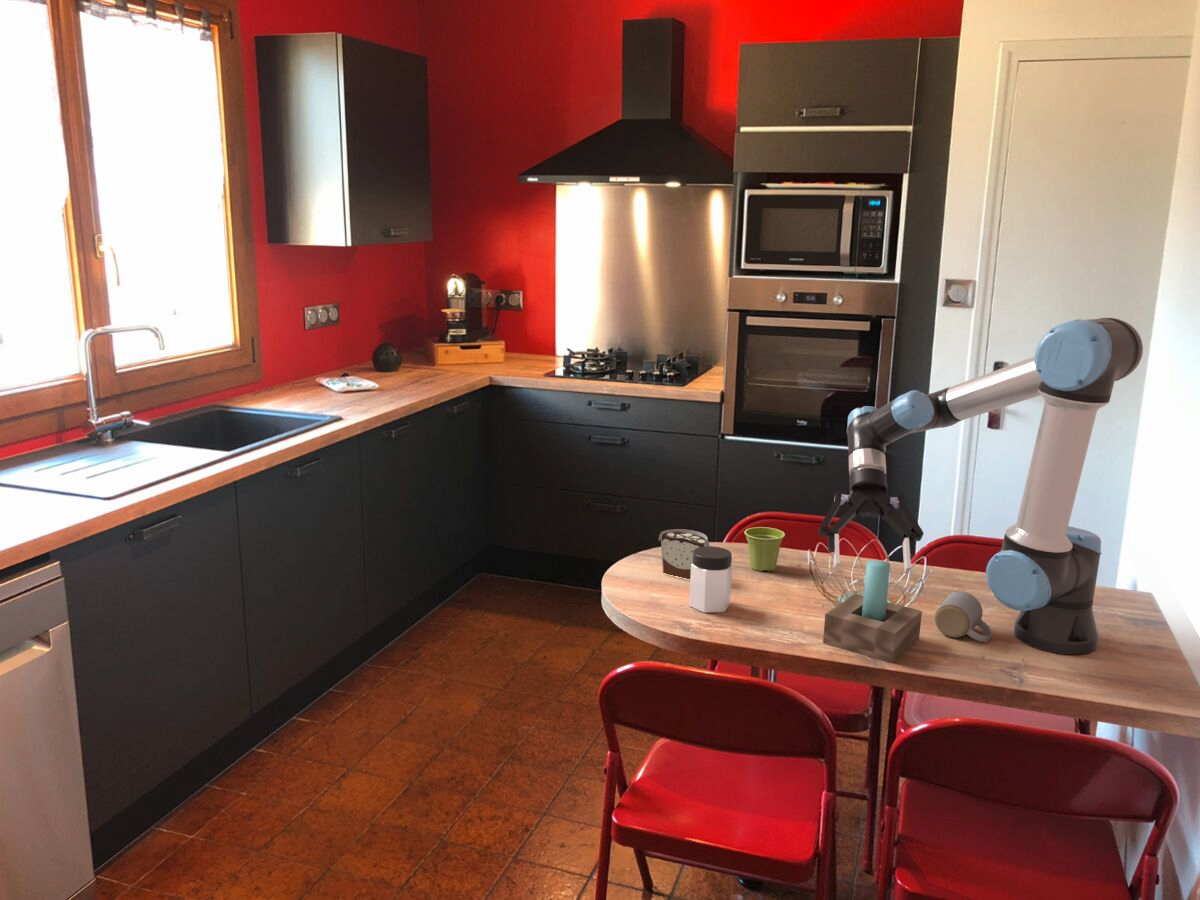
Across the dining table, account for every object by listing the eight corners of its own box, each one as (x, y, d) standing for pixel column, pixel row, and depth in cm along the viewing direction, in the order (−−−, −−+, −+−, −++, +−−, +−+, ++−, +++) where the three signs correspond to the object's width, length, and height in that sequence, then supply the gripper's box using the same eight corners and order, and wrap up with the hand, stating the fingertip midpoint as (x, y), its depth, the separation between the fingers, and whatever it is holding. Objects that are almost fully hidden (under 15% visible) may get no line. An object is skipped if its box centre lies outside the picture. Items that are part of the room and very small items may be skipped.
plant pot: (734, 567, 234) (736, 532, 232) (755, 558, 241) (757, 524, 239) (769, 577, 228) (771, 541, 226) (789, 567, 235) (792, 532, 233)
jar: (738, 607, 210) (741, 554, 207) (711, 616, 204) (714, 561, 202) (708, 595, 216) (710, 543, 214) (681, 603, 211) (683, 550, 209)
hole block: (919, 639, 196) (921, 611, 194) (892, 662, 185) (895, 633, 183) (852, 621, 204) (854, 593, 202) (822, 642, 193) (825, 614, 192)
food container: (716, 576, 228) (719, 535, 226) (705, 584, 223) (707, 541, 221) (669, 565, 234) (671, 525, 232) (657, 573, 229) (658, 531, 227)
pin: (886, 635, 194) (893, 563, 191) (878, 642, 191) (884, 569, 188) (865, 629, 197) (871, 558, 194) (856, 636, 194) (862, 564, 190)
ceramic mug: (930, 634, 198) (934, 598, 197) (942, 621, 205) (947, 586, 203) (984, 648, 192) (990, 612, 191) (995, 635, 199) (1000, 599, 197)
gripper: (925, 487, 207) (933, 580, 196) (804, 481, 210) (805, 572, 199) (933, 469, 201) (941, 564, 189) (808, 463, 203) (809, 556, 192)
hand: (872, 568), depth 194 cm, fingers open, 13 cm apart
